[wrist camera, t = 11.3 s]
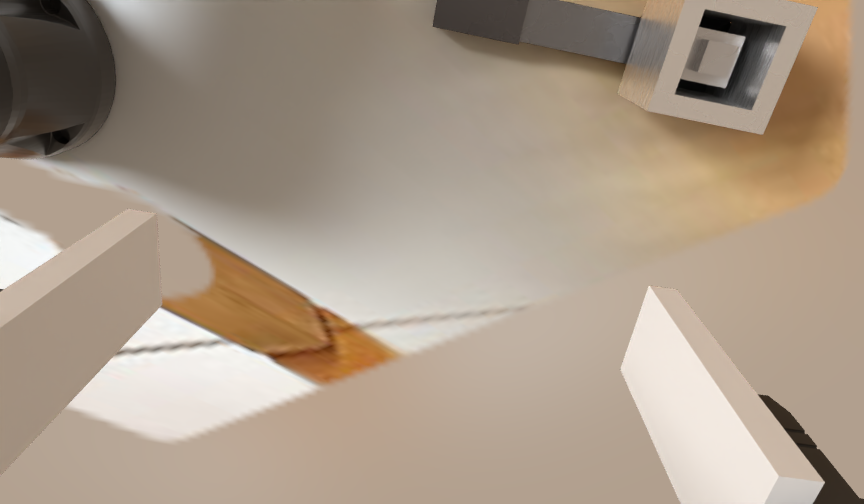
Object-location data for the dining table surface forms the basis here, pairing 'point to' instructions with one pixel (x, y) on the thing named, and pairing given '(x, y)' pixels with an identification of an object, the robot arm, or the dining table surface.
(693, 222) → the dining table surface
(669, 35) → the socket
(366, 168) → the dining table surface
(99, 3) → the dining table surface
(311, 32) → the dining table surface
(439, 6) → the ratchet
